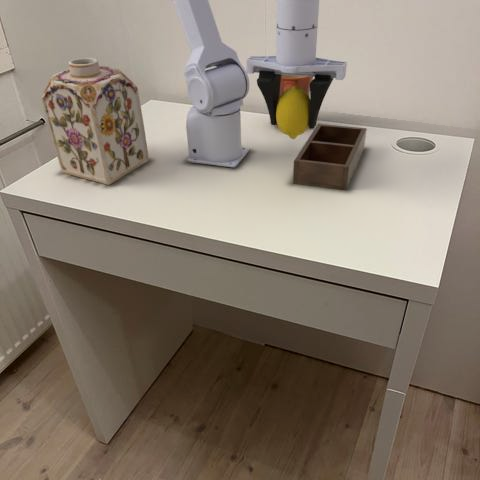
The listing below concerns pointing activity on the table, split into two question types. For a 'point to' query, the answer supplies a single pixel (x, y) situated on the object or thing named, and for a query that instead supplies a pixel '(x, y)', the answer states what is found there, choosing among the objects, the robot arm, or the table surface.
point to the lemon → (293, 112)
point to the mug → (295, 83)
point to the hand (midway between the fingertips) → (293, 124)
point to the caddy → (329, 156)
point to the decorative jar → (95, 121)
